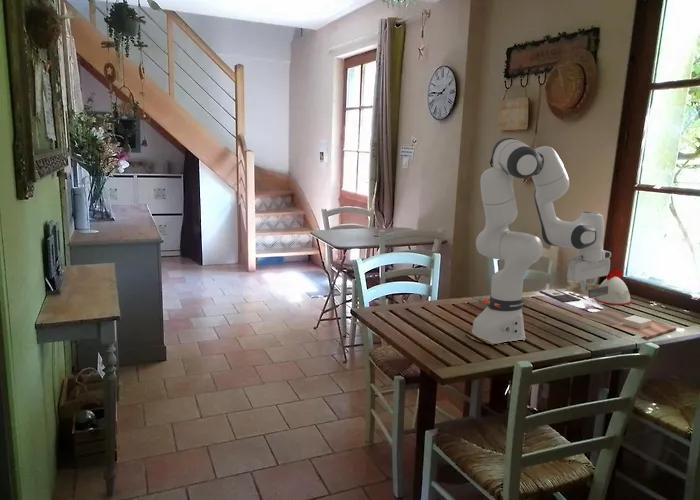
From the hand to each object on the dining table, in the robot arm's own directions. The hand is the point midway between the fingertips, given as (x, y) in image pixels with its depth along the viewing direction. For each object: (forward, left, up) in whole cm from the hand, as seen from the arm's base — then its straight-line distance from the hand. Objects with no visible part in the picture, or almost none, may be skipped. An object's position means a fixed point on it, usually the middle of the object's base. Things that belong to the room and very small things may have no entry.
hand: (587, 289), depth 200 cm
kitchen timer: (+36, +13, -15) cm, 41 cm away
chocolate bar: (+25, +33, -15) cm, 44 cm away
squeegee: (0, +2, -2) cm, 3 cm away
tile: (+15, -11, -14) cm, 23 cm away
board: (+15, -7, -15) cm, 22 cm away
